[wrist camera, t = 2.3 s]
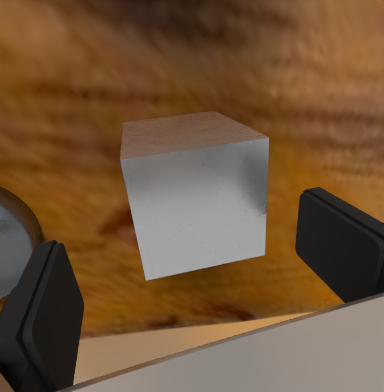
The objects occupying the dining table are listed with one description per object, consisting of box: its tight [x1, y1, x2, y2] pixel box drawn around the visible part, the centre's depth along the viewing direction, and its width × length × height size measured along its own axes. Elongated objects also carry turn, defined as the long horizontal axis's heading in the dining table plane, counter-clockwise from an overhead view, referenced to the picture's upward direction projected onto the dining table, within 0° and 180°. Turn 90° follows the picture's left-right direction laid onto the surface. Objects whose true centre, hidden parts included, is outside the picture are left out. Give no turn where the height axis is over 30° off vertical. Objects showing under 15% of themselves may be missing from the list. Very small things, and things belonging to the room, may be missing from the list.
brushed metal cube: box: [120, 111, 269, 281], centre depth 16 cm, size 6×6×8 cm
